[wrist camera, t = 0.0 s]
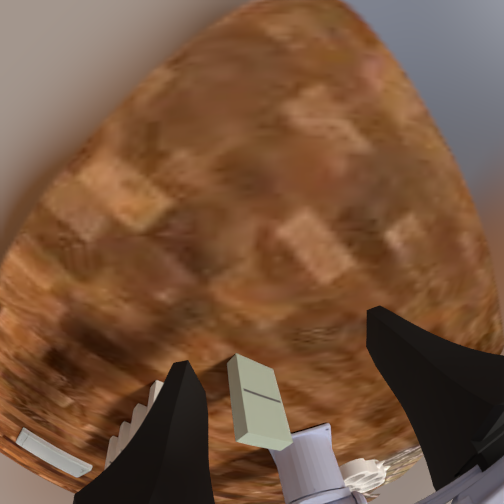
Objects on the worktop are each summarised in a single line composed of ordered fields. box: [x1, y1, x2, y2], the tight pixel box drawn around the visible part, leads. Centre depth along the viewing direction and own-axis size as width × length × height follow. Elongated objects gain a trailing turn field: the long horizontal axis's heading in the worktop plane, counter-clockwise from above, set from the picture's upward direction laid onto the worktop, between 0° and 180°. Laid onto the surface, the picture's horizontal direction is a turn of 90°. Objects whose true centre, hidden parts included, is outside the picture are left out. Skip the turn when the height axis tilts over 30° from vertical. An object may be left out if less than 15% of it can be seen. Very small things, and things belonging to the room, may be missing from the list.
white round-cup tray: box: [339, 458, 390, 493], centre depth 40 cm, size 3×18×15 cm
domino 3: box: [128, 403, 147, 443], centre depth 22 cm, size 1×4×8 cm, turn 54°
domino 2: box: [115, 421, 131, 459], centre depth 23 cm, size 1×4×8 cm, turn 53°
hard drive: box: [16, 427, 92, 478], centre depth 29 cm, size 2×8×12 cm
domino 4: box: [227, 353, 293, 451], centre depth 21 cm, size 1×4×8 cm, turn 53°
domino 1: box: [104, 436, 118, 470], centre depth 24 cm, size 1×4×8 cm, turn 53°
